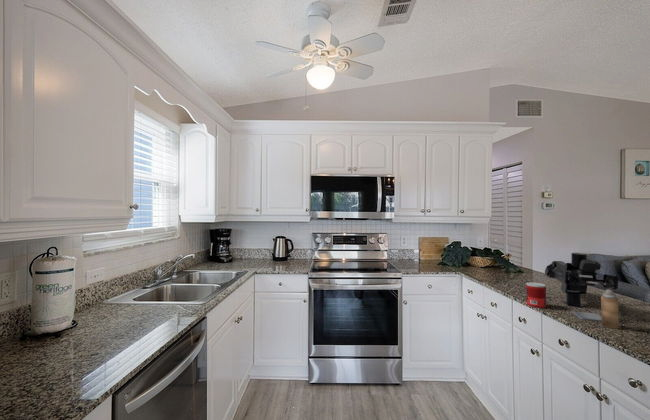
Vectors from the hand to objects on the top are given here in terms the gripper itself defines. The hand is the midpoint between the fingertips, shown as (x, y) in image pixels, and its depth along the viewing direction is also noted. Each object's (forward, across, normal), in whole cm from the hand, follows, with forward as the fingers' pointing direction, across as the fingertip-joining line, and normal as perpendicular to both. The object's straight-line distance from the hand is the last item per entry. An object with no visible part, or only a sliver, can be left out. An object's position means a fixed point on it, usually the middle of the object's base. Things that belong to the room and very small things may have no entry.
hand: (599, 284), depth 120 cm
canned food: (-17, -17, +18) cm, 30 cm away
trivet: (-6, 0, +17) cm, 18 cm away
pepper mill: (+3, +3, +16) cm, 17 cm away
